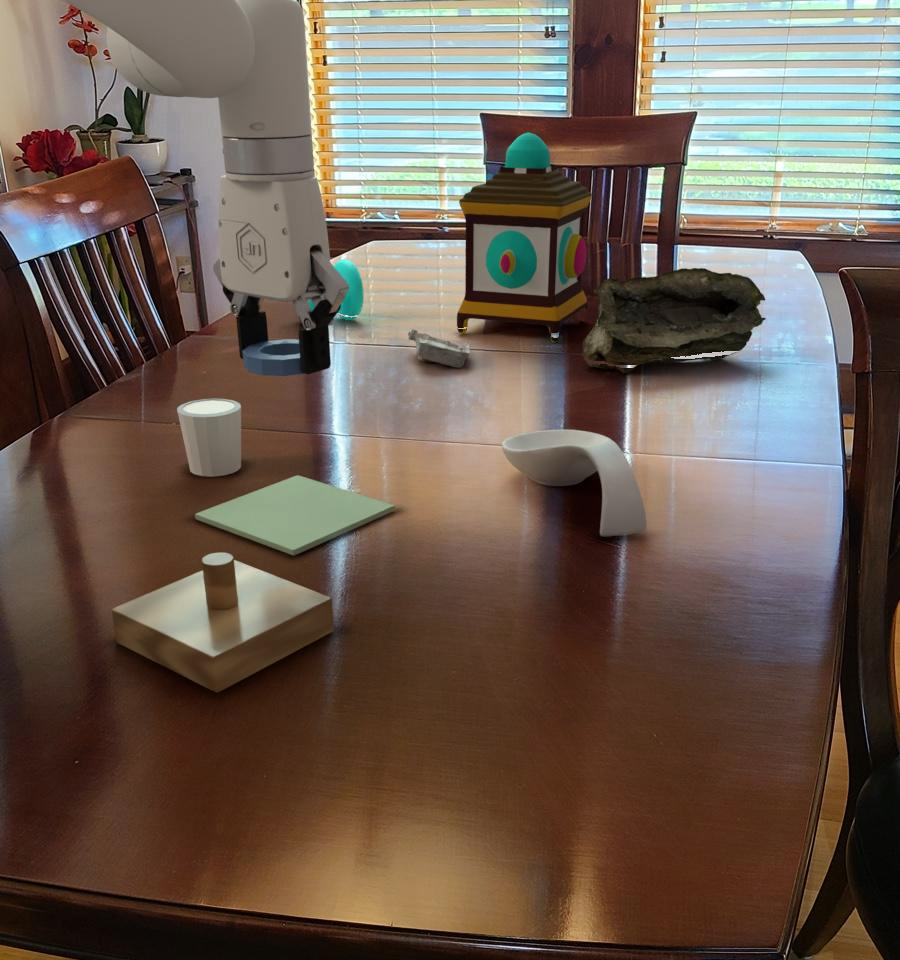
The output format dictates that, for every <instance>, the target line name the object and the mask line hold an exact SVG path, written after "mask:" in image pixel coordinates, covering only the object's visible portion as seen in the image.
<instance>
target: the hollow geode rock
mask: <svg viewBox="0 0 900 960" xmlns="http://www.w3.org/2000/svg"><path fill="white" fill-rule="evenodd" d="M593 295H597V296H598V299H599V302H600V303H599V304H598V306H597V310H598V318H597V320H596V322H595V324H594V326H593V328H592V329H591V330H590V332H589V333H588V334H587V335H586V337H585V338H584V339H583V341H582V355H583V359H584V358H585V359H588V360H592V361H605V362H608V363H610V364H613V365H638V364H640V365H641V363H642V364H648V363H649V362H651V361H656V360H661V361H663V362H664V363H679V362H680V363H684V362H687V361H698V360H704V361H705V360H711V361H713V360H716V359H718V360H723V358H724V359H725V358H726V357H729V356H731V355H733V354H731V355H722V356H715V357H702V358H695V359H674V358H671V357H680V356H685V357H686V356H691V355H697V354H698V355H699V354H702V353H712V352H721V351H722V352H724V351H739V352H740V351H742V350H743V349H744V348H745V347H746V346H747V343H748V342H749V341H750V339H751V337H752V335H753V332H752V331H753V330H754V328H758V327H759V326H761V325H762V324H763V322H764V321H766V317H762V314H761V313H760V310H759V308H758V306H759V305H760V304H761V302H762V301H766V297H765V295H764V294H763V293H762V292H761V290H760V289H759V287H758V286H757V285H756V283H755V282H754V281H753V280H752V279H751V278H750V277H748V276H744V275H742V274H737V273H735V274H733V273H731V272H722V273H719V272H716V271H712V270H710V269H707V268H705V267H704V268H703V267H700V268H699V267H698V268H697V267H691V268H687V267H686V268H683V267H682V268H679V269H674V270H671V271H667V272H664V273H662V274H660V275H656V276H648V277H647V276H641V277H639V276H638V277H637V276H636V277H632V278H629V279H626V280H621V279H619V278H615V277H609V278H606V279H604V280H602V282H600V283H599V285H598V286H597V287H596V288H595V289H594V290H593ZM585 359H584V360H585ZM586 363H587V365H588V366H590V367H592V368H598V369H602V370H609V371H610V370H613V371H618V372H621V373H623V374H625V373H628V372H630V371H633V370H634V369H635V368H636V367H638V366H639V365H638V366H636V367H635V368H620V367H616V366H609V365H607V364H600V365H598V364H592V363H588V362H586Z"/></svg>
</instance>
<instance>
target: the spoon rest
mask: <svg viewBox="0 0 900 960" xmlns="http://www.w3.org/2000/svg"><path fill="white" fill-rule="evenodd" d="M501 450H502V452H503V454H504V456H505V458H506V460H508V462H509V463H510V464H511V465H512V466H513V467H514V468H515V469H516V470H518V471H519V472H521V473H522V474H523V475H525V476H527V477H528V478H529V479H530V480H531V481H532V482H534V483H536V484H538V485H543V486H549V487H568V486H574V485H577V484H580V483H582V482H583V481H584V480H585V479H587V478H589V477H590V476H592V475H593V474H594V473H596V472H597V473H598V476H599V479H600V484H601V485H600V486H601V496H602V497H601V515H600V524H599V525H600V526H599V535H600V537H602V538H603V537H605V538H609V537H616V536H626V535H634V534H638V533H642V532H645V531H646V530H647V528H648V527H647V524H648V523H647V513H646V508H645V503H644V499H643V495H642V492H641V488H640V486H639V484H638V481H637V478H636V476H635V474H634V471H633V469H632V467H631V465H630V463H629V461H628V458H627V457H626V455H625V454H624V452H623V451H622V449H621V447H620V446H619V445H618V444H617V442H615V441H614V440H612V438H610V437H607V436H606V435H603V434H600V433H596V432H592V431H585V430H579V429H545V430H538V431H529V432H523V433H518V434H515V435H512V436H509V437H507V438H506V439H504V440H503V441H502V442H501Z"/></svg>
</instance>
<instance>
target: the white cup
mask: <svg viewBox="0 0 900 960" xmlns="http://www.w3.org/2000/svg"><path fill="white" fill-rule="evenodd" d="M176 410H177V417H178V420H179V426H180V430H181V434H182V440H183V443H184V448H185V449H184V450H185V453H186V458H187V462H188V468H189V472H190V473H192V474H193V475H196V476H199V477H212V478H213V477H224V476H228V475H230V474H231V475H232V474H234V473H236V472H237V471H239V470H240V469H241V468H242V405H241V403H240V402H238V401H236V400H234V399H233V400H232V399H227V398H203V399H196V400H190V401H188V402H185V403H182V404H180V405H179V406H178V407H176Z"/></svg>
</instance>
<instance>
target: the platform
mask: <svg viewBox="0 0 900 960" xmlns="http://www.w3.org/2000/svg"><path fill="white" fill-rule="evenodd" d="M201 568H202V569H201V570H199V571H198V572H195V573H192V574H191V575H188V576H186V577H184V578H183V577H182V578H181V579H179V580H176V581H174V582H172V583H169V584H167V585H165V586H162V587H160V588H158V589H155V590H153V591H150V592H148V593H146V594H143V595H141V596H138V597H136V598H134V599H132V600H129V601H127V602H124V603H122V604H120V605H118V606H116V607H113V608H112V609H111V615H112V622H113V627H114V628H113V629H114V634H115V640H116V643H117V644H119V645H120V646H123V647H125V648H126V649H129V650H131V651H132V652H134V653H137V654H138V655H140V656H143V657H145V658H146V659H149V660H151V661H152V662H154V663H156V664H159V665H161V666H162V667H164V668H166V669H168V670H170V671H172V672H175V673H176V674H178V675H180V676H182V677H184V678H186V679H187V680H190V681H192V682H194V683H196V684H198V685H200V686H202V687H204V688H206V689H207V690H210V691H212V692H214V693H215V694H218V693H221V692H222V691H224V690H226V689H228V688H230V687H231V686H234V685H235V684H238V683H240V682H241V681H243V680H244V679H247V678H248V677H250V676H252V675H254V674H256V673H258V672H260V671H262V670H264V669H265V668H267V667H269V666H271V665H272V664H275V663H276V662H278V661H280V660H282V659H284V658H286V657H288V656H290V655H292V654H293V653H296V652H297V651H299V650H301V649H303V648H304V647H307V646H309V645H310V644H313V643H314V642H316V641H318V640H320V639H322V638H323V637H325V636H327V635H329V634H331V633H333V632H334V631H335V627H334V612H333V611H334V609H333V598H332V597H331V596H328V595H325V594H323V593H320V592H317V591H315V590H313V589H310V588H307V587H306V586H302V585H300V584H297V583H295V582H292V581H290V580H287V579H284V578H282V577H279V576H277V575H274V574H272V573H269V572H267V571H265V570H261V569H259V568H256V567H254V566H251V565H249V564H247V563H244V562H241V561H239V560H237V559H235V558H234V556H233V554H231V553H228V552H213V553H209V554H206V555H204V556H203V557H202V558H201Z"/></svg>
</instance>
